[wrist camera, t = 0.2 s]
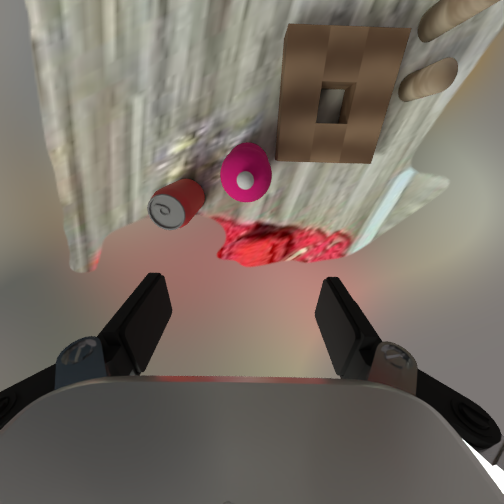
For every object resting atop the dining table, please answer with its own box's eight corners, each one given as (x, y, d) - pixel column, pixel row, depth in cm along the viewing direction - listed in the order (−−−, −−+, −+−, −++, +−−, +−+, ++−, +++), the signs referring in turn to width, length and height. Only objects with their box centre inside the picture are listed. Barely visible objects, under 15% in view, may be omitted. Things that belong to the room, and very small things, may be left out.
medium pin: (424, 5, 26) (498, -55, 18) (450, 6, 26) (534, -53, 19) (413, 41, 28) (476, 1, 20) (437, 42, 28) (509, 2, 20)
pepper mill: (274, 155, 35) (296, 164, 18) (256, 191, 38) (259, 228, 21) (239, 134, 34) (226, 122, 16) (223, 173, 37) (197, 197, 19)
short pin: (403, 72, 30) (436, 56, 25) (426, 73, 30) (463, 57, 25) (394, 101, 32) (423, 92, 26) (416, 102, 32) (448, 93, 26)
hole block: (284, 39, 28) (288, 23, 24) (391, 43, 28) (411, 28, 25) (274, 159, 36) (277, 161, 32) (359, 162, 36) (370, 163, 32)
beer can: (181, 170, 37) (153, 180, 26) (211, 191, 38) (196, 207, 28) (167, 199, 39) (137, 218, 29) (196, 216, 41) (177, 240, 31)
